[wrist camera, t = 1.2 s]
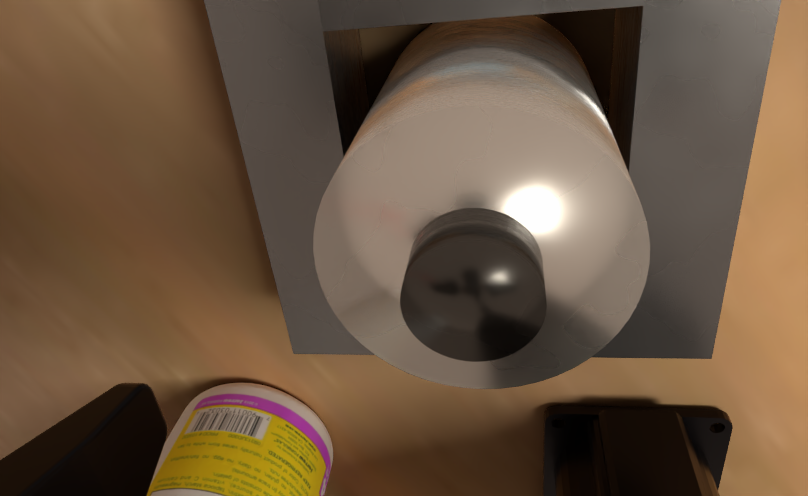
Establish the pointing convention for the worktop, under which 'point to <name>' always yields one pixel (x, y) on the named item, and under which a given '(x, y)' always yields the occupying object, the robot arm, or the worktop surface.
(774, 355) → the worktop surface
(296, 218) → the frame
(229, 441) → the supplement bottle
